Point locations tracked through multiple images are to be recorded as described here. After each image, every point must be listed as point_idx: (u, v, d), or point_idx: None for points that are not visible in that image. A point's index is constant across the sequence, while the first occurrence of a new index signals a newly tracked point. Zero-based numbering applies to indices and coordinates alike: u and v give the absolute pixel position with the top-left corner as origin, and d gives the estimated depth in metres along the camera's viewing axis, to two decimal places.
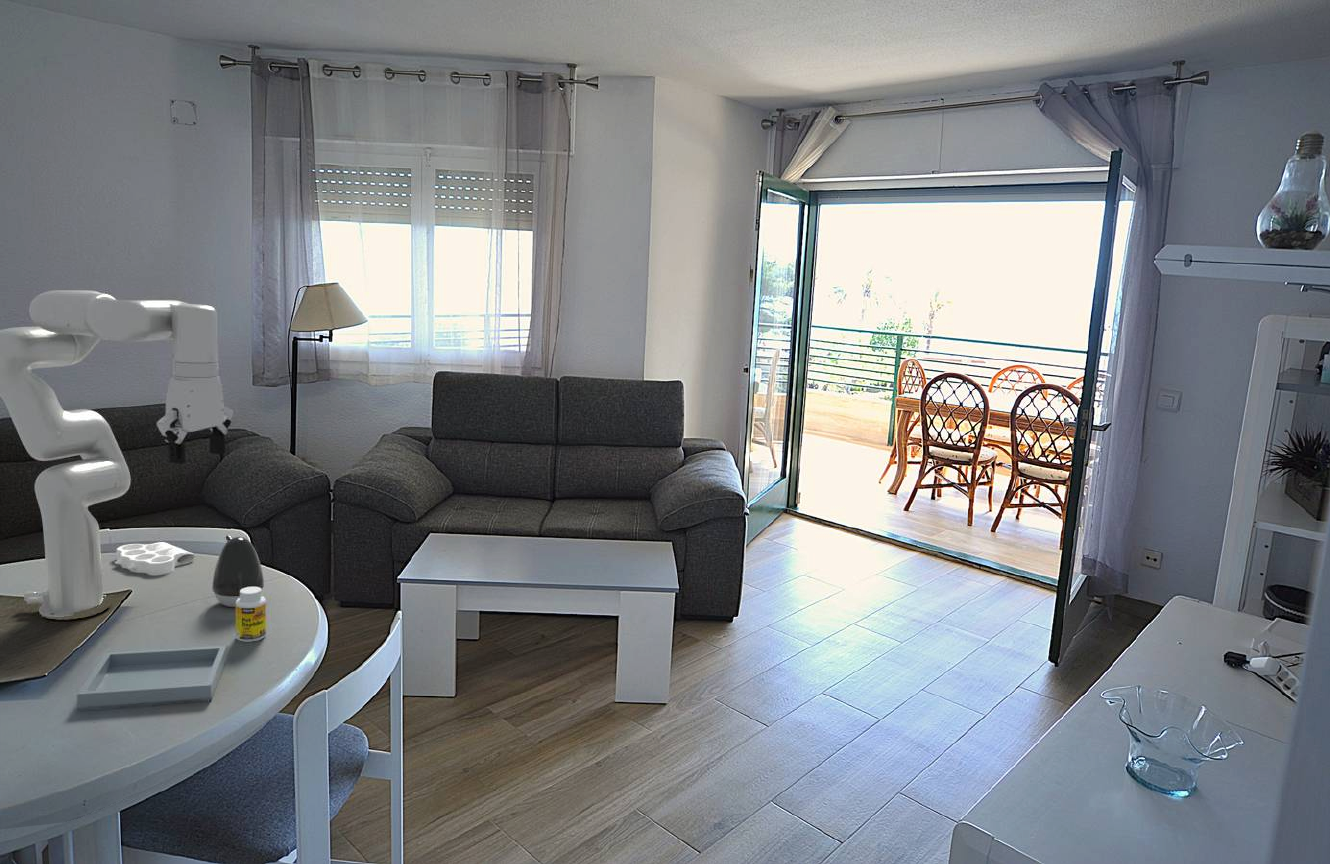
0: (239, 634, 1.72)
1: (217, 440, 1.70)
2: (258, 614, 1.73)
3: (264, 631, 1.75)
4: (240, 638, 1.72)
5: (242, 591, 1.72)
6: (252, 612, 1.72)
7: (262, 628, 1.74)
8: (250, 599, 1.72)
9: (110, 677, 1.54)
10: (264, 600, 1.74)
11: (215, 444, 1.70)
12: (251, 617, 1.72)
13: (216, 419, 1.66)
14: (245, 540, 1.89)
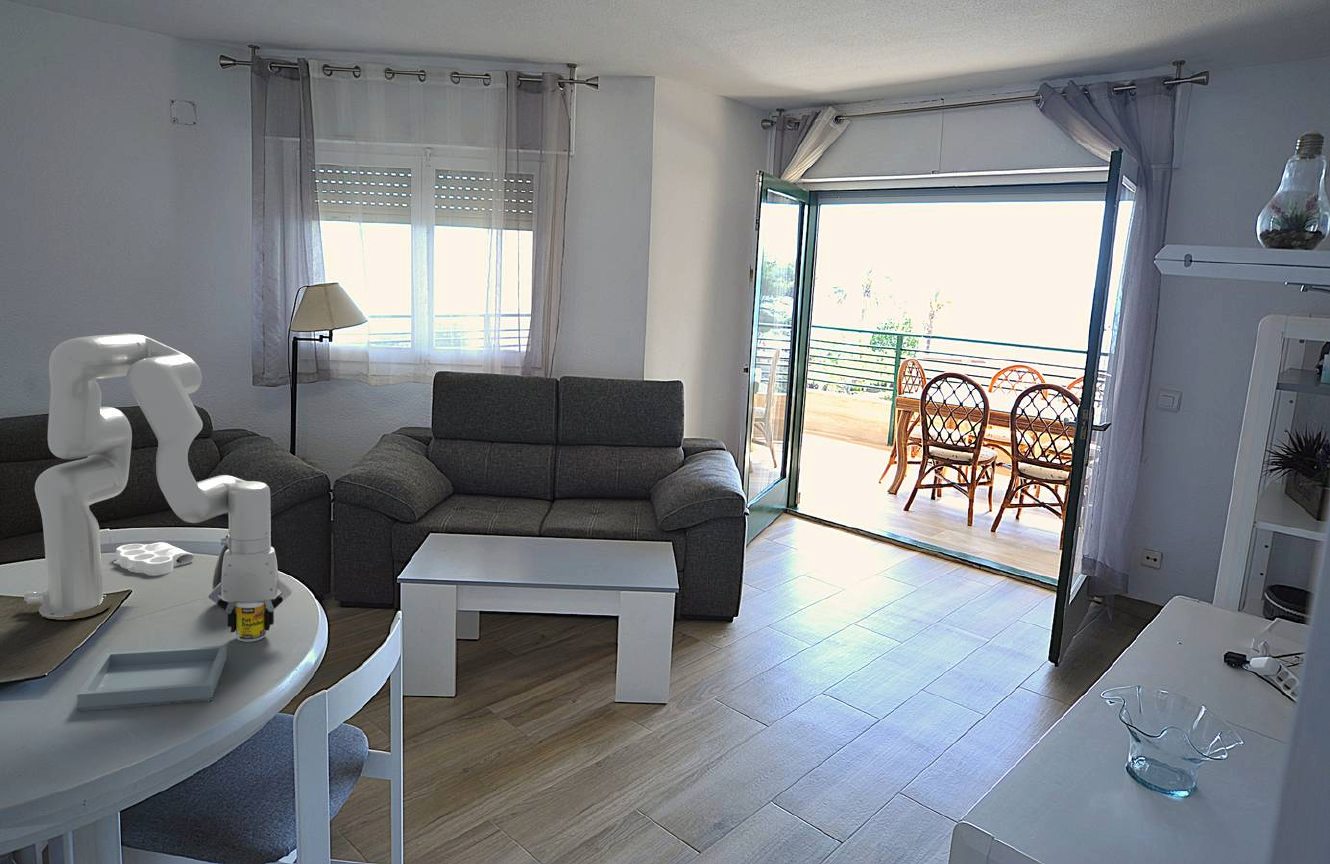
0: (239, 634, 1.72)
1: None
2: (258, 614, 1.73)
3: (264, 631, 1.75)
4: (240, 638, 1.72)
5: None
6: (252, 612, 1.72)
7: (262, 628, 1.74)
8: None
9: (110, 677, 1.54)
10: None
11: (235, 620, 1.74)
12: (251, 617, 1.72)
13: None
14: None
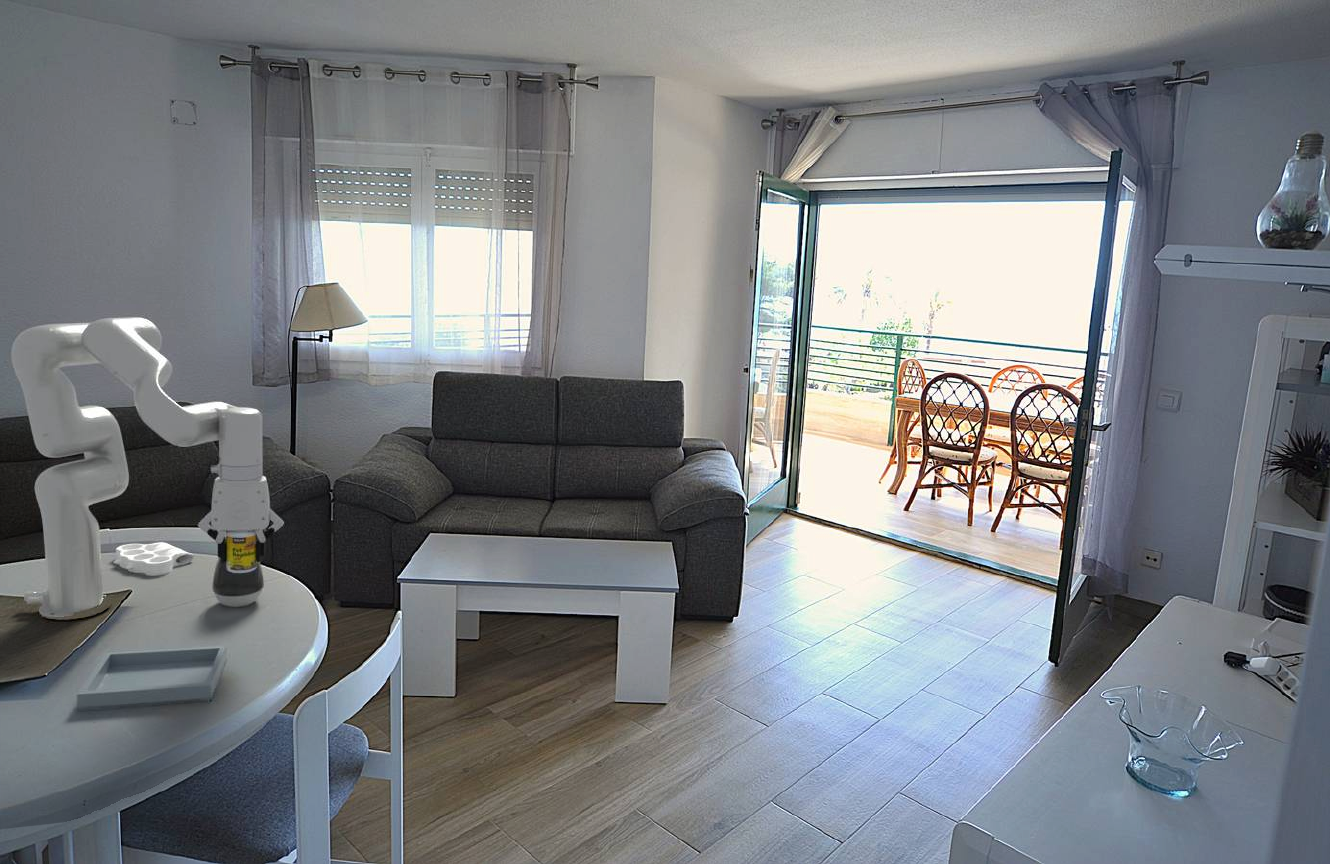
0: (230, 564, 1.68)
1: None
2: (250, 544, 1.68)
3: (255, 563, 1.70)
4: (231, 569, 1.68)
5: None
6: (243, 542, 1.67)
7: (254, 560, 1.70)
8: None
9: (110, 677, 1.54)
10: None
11: None
12: (243, 547, 1.67)
13: None
14: None
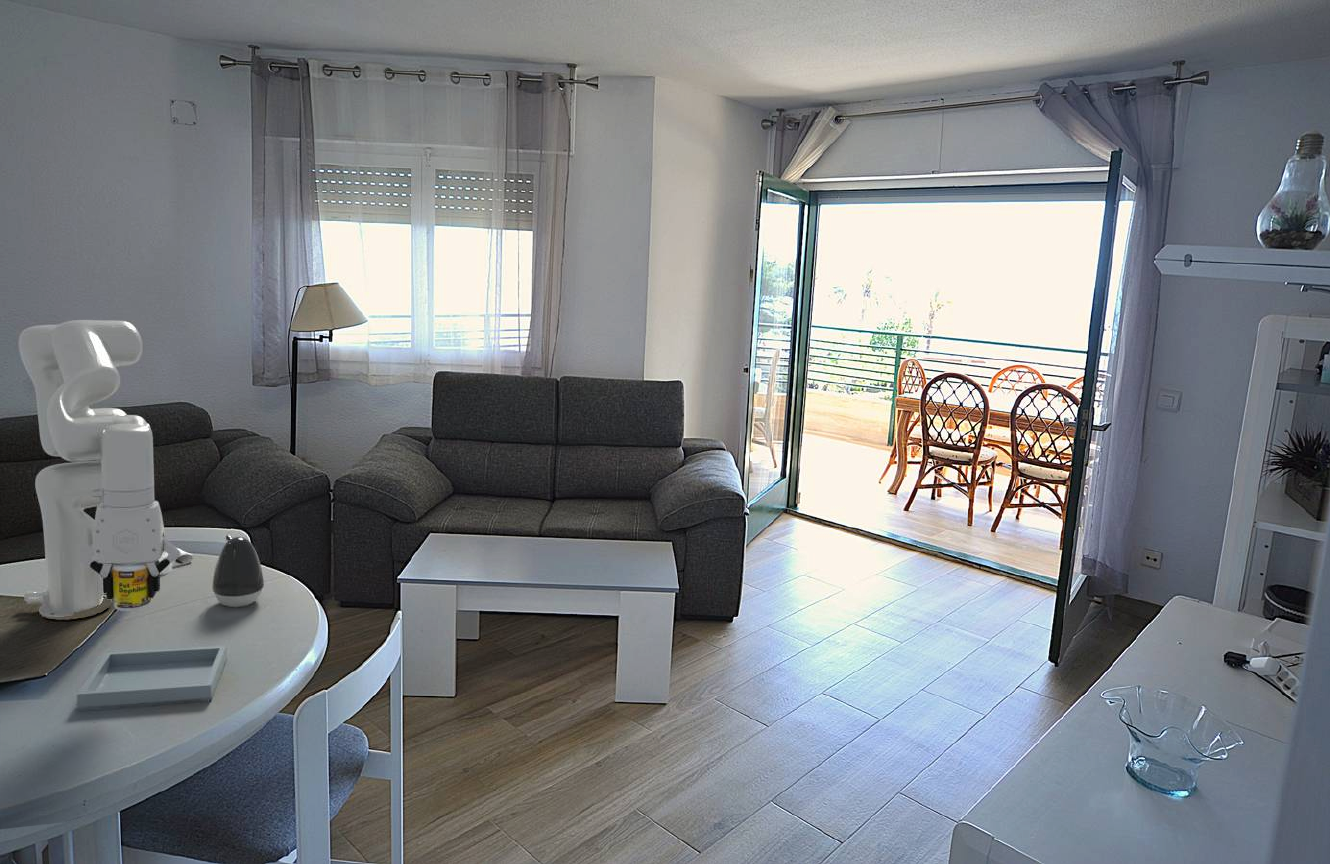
0: (116, 601, 1.48)
1: None
2: (140, 579, 1.48)
3: (148, 599, 1.50)
4: (118, 606, 1.48)
5: None
6: (131, 576, 1.47)
7: (145, 596, 1.50)
8: None
9: (110, 677, 1.54)
10: None
11: None
12: (131, 582, 1.47)
13: None
14: (245, 540, 1.89)
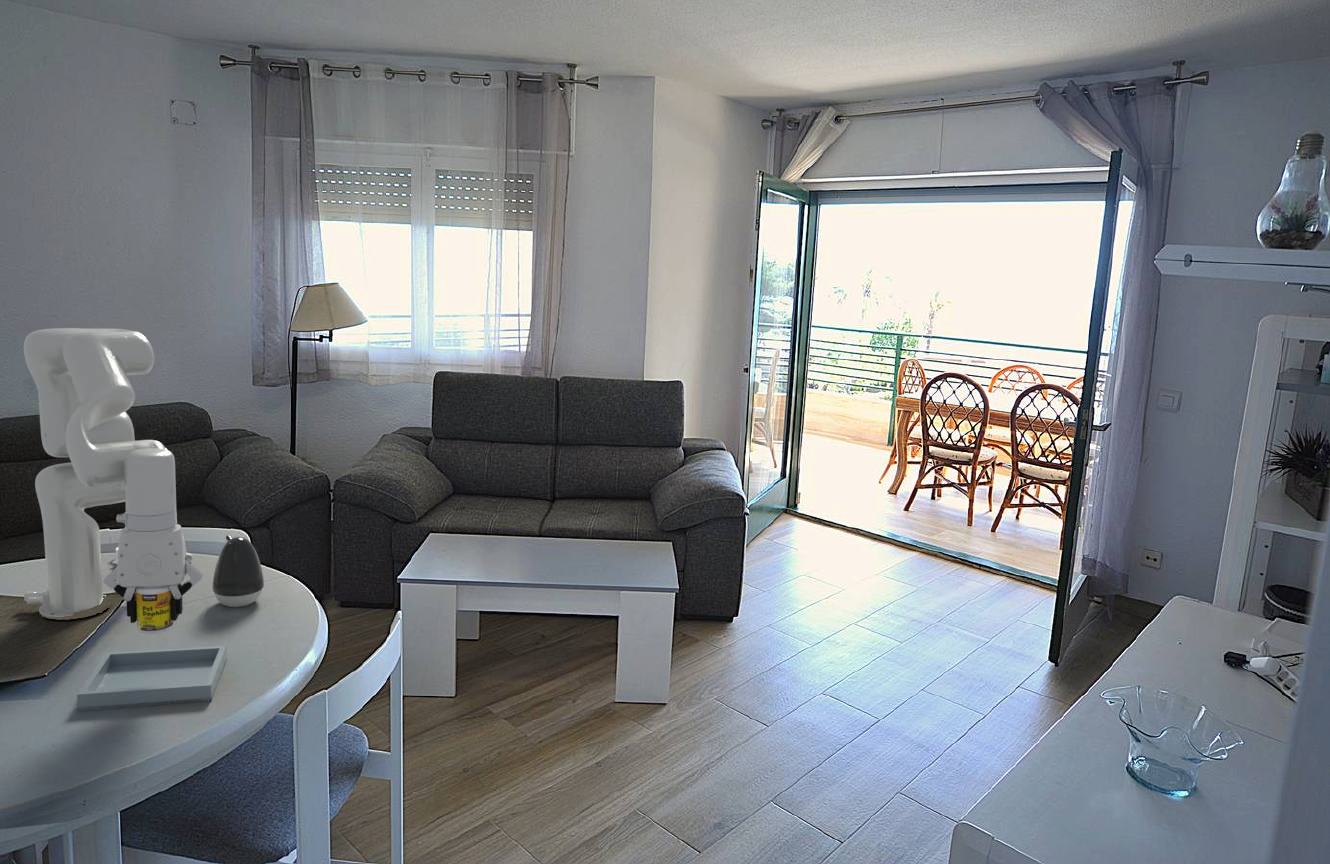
0: (140, 624, 1.49)
1: None
2: (162, 602, 1.50)
3: (170, 621, 1.52)
4: (141, 629, 1.50)
5: None
6: (154, 599, 1.49)
7: (168, 618, 1.51)
8: None
9: (110, 677, 1.54)
10: None
11: None
12: (154, 605, 1.49)
13: None
14: (245, 540, 1.89)
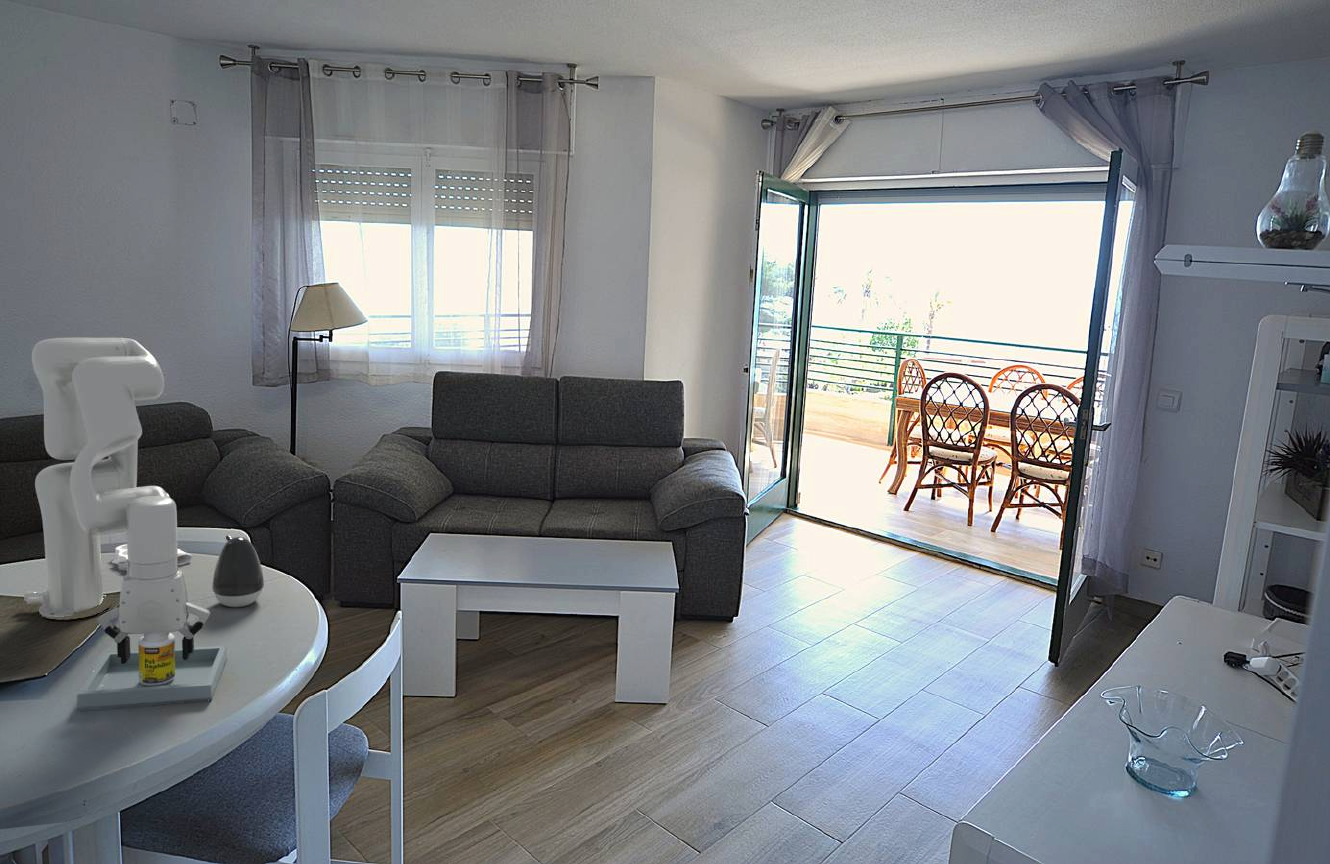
0: (142, 677, 1.52)
1: (128, 644, 1.52)
2: (164, 655, 1.52)
3: (172, 673, 1.54)
4: (143, 682, 1.52)
5: None
6: (156, 652, 1.51)
7: (170, 670, 1.53)
8: (155, 637, 1.51)
9: (110, 677, 1.54)
10: (172, 638, 1.53)
11: (127, 649, 1.52)
12: (156, 658, 1.51)
13: None
14: (245, 540, 1.89)
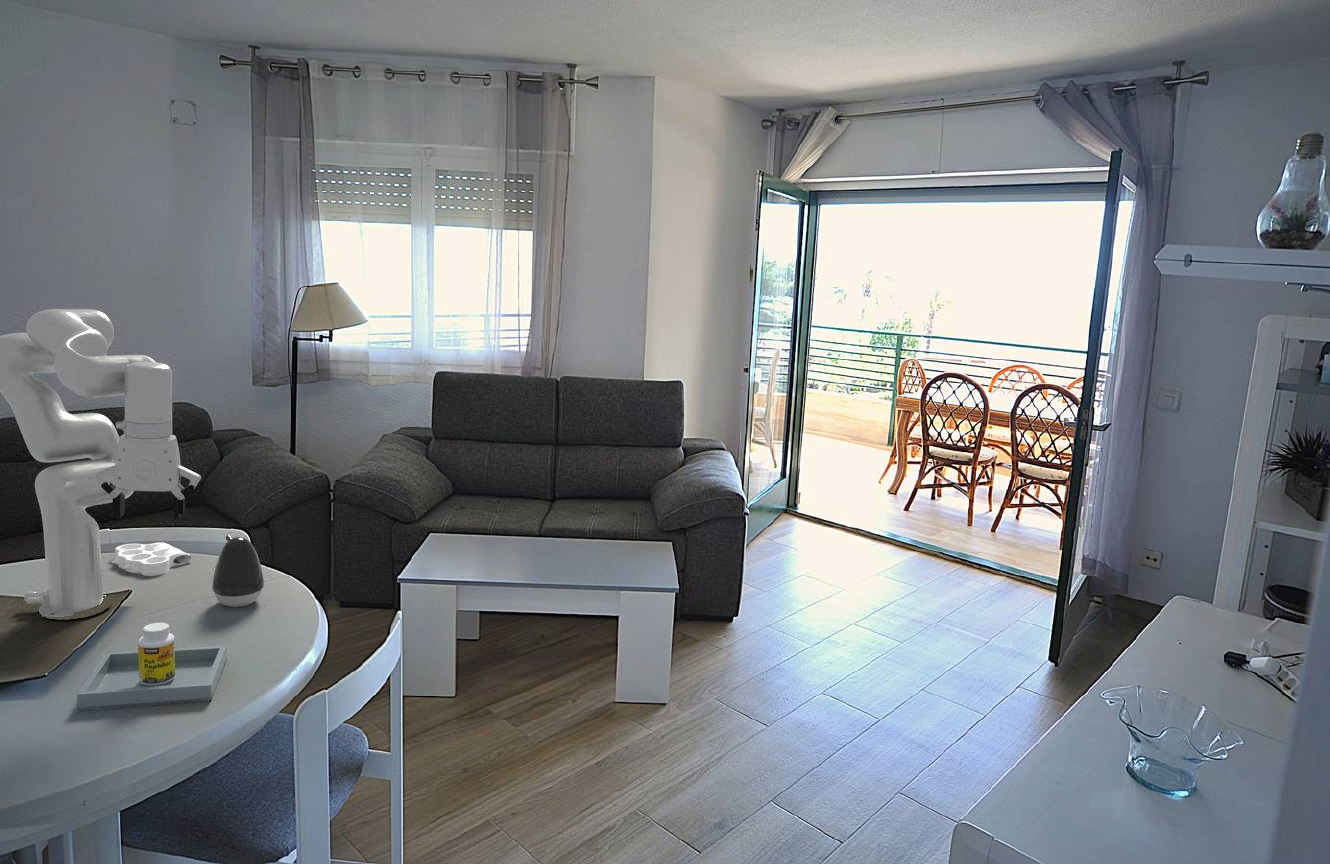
0: (142, 677, 1.52)
1: (123, 501, 1.61)
2: (164, 655, 1.52)
3: (172, 673, 1.54)
4: (143, 682, 1.52)
5: (145, 628, 1.51)
6: (156, 652, 1.51)
7: (169, 670, 1.53)
8: (155, 637, 1.51)
9: (110, 677, 1.54)
10: (172, 638, 1.53)
11: (122, 506, 1.61)
12: (155, 658, 1.51)
13: None
14: (245, 540, 1.89)
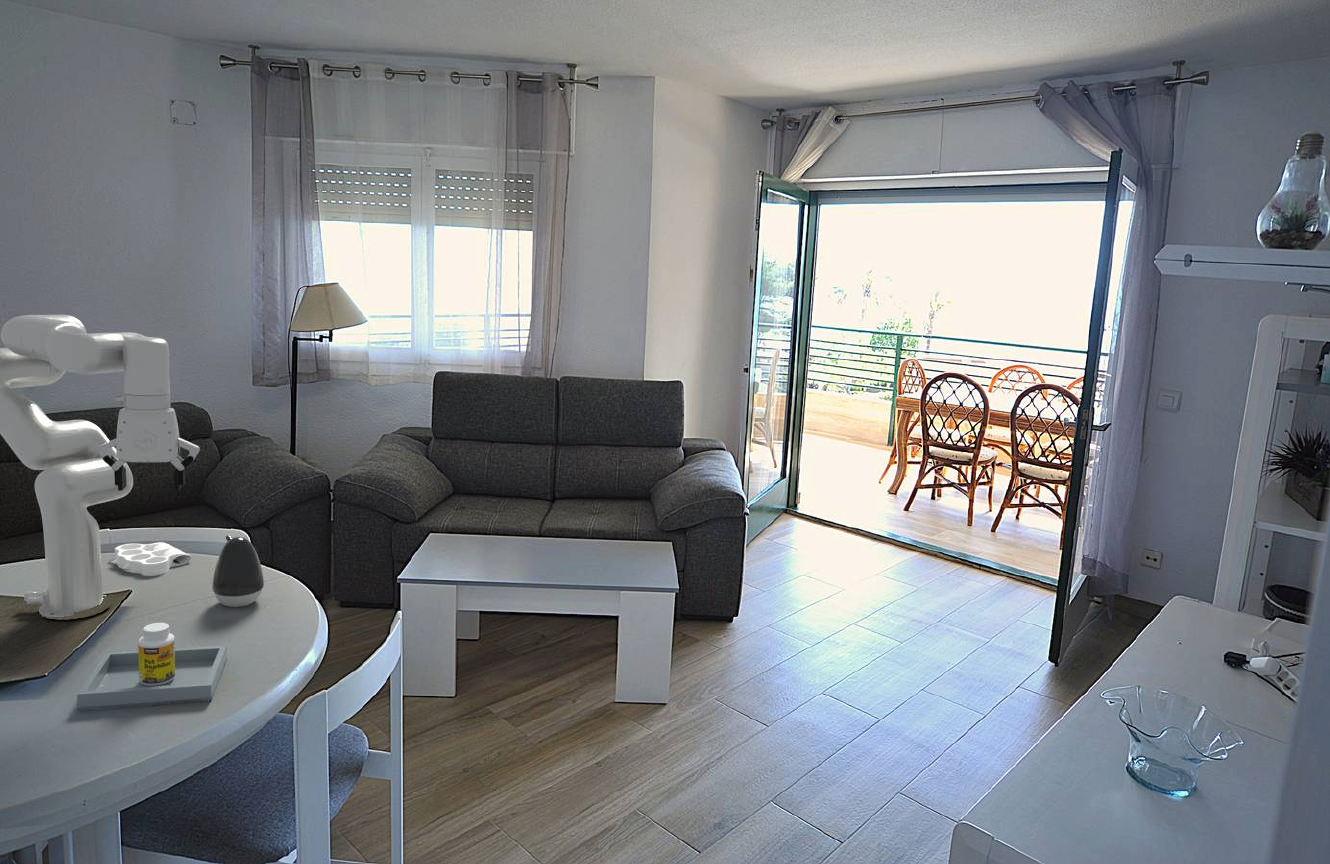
0: (142, 677, 1.52)
1: (124, 474, 1.66)
2: (164, 655, 1.52)
3: (172, 673, 1.54)
4: (143, 682, 1.52)
5: (146, 628, 1.51)
6: (156, 653, 1.51)
7: (169, 671, 1.53)
8: (155, 637, 1.51)
9: (110, 677, 1.54)
10: (172, 638, 1.53)
11: (124, 479, 1.66)
12: (155, 658, 1.51)
13: None
14: (245, 540, 1.89)
